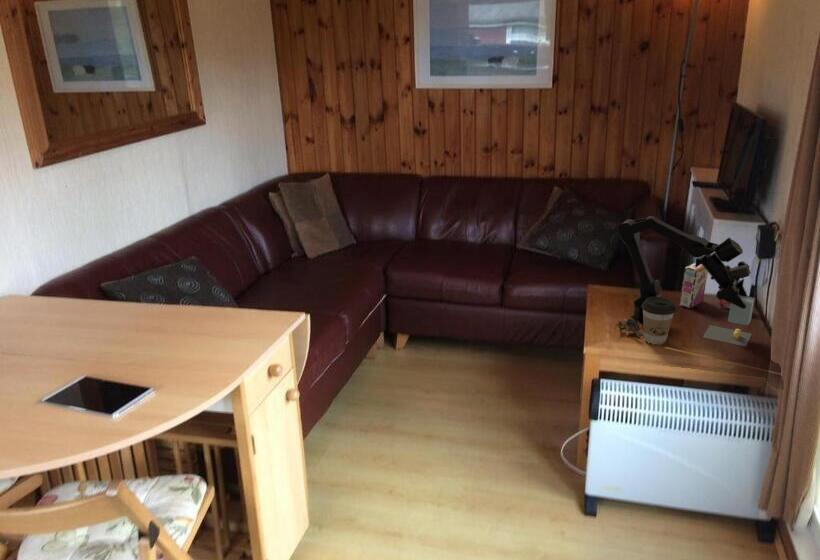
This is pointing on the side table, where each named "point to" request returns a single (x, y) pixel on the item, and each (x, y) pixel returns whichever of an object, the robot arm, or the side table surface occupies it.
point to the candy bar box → (693, 285)
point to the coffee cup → (657, 319)
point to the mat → (727, 335)
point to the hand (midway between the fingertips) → (746, 304)
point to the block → (741, 311)
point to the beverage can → (724, 303)
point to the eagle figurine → (630, 327)
